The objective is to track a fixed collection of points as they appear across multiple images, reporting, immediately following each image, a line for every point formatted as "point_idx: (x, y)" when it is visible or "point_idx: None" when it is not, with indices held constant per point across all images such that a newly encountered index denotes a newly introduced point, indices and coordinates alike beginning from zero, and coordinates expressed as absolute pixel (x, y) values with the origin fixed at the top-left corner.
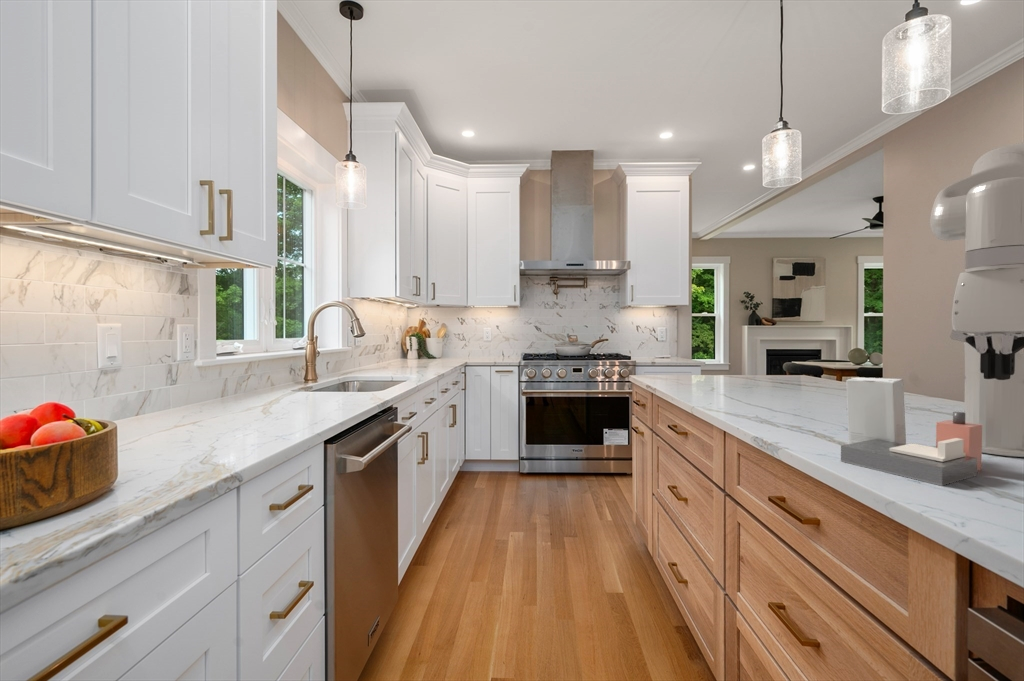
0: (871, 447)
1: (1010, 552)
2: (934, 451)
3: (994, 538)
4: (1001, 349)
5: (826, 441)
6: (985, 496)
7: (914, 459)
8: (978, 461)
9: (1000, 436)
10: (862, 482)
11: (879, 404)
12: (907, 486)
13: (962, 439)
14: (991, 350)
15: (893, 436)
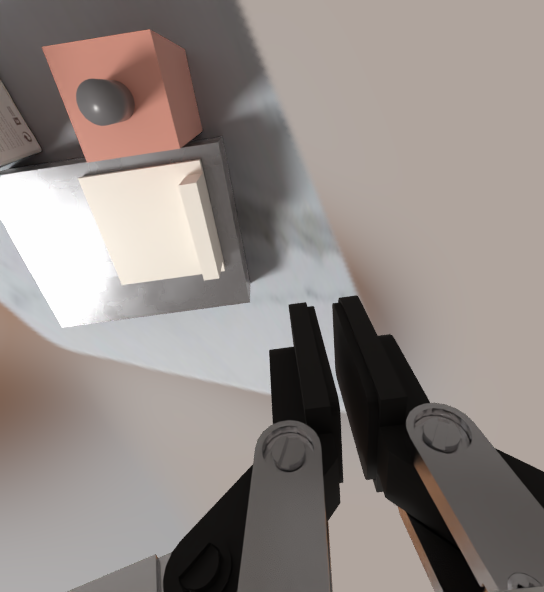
0: (85, 284)
1: None
2: (168, 219)
3: None
4: (406, 516)
5: None
6: (308, 273)
7: (192, 295)
8: (185, 69)
9: None
10: (201, 371)
11: None
12: (234, 332)
13: (198, 189)
14: (338, 493)
15: (4, 164)
